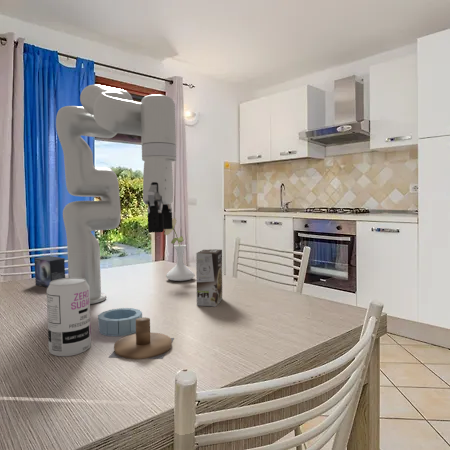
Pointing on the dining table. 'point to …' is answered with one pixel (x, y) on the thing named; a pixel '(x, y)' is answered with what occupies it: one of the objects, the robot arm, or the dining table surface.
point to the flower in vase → (178, 259)
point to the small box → (48, 270)
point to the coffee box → (209, 277)
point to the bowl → (118, 321)
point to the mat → (145, 358)
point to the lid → (142, 342)
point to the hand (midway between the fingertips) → (161, 230)
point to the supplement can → (68, 316)
